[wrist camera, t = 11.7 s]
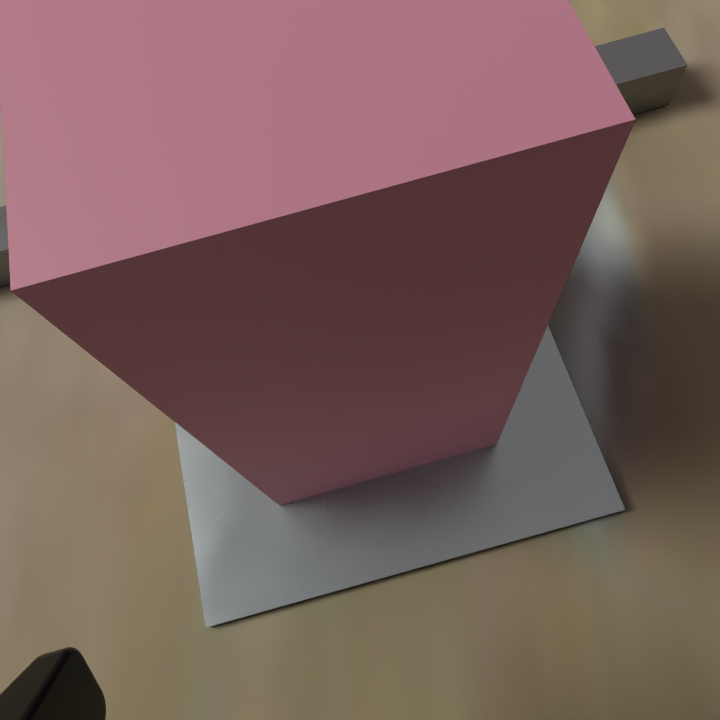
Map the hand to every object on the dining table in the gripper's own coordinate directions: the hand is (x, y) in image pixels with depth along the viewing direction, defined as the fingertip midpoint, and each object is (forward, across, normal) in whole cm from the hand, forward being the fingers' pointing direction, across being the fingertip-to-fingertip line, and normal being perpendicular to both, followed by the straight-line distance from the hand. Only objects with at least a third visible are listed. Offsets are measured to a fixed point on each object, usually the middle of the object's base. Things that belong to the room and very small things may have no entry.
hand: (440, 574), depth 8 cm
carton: (+9, 0, +1) cm, 9 cm away
